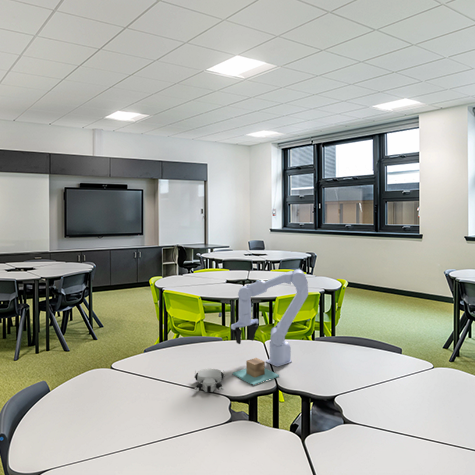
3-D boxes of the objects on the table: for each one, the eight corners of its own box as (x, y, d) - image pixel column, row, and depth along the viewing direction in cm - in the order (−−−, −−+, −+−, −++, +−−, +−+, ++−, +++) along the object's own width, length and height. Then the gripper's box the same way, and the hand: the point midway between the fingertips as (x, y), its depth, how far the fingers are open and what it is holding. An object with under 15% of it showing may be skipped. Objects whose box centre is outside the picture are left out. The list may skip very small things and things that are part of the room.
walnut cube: (256, 369, 181) (256, 357, 180) (264, 374, 176) (264, 361, 176) (246, 373, 177) (246, 360, 177) (254, 377, 173) (254, 364, 172)
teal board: (257, 366, 186) (257, 364, 186) (279, 376, 175) (279, 375, 175) (232, 374, 178) (232, 372, 178) (253, 386, 167) (253, 384, 167)
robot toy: (225, 396, 160) (224, 377, 175) (224, 385, 160) (224, 367, 174) (193, 397, 160) (195, 377, 175) (192, 386, 159) (194, 367, 174)
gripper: (251, 308, 198) (251, 336, 199) (226, 313, 189) (227, 342, 190) (261, 311, 192) (261, 340, 193) (236, 317, 183) (236, 346, 185)
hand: (245, 341), depth 191 cm, fingers open, 7 cm apart
